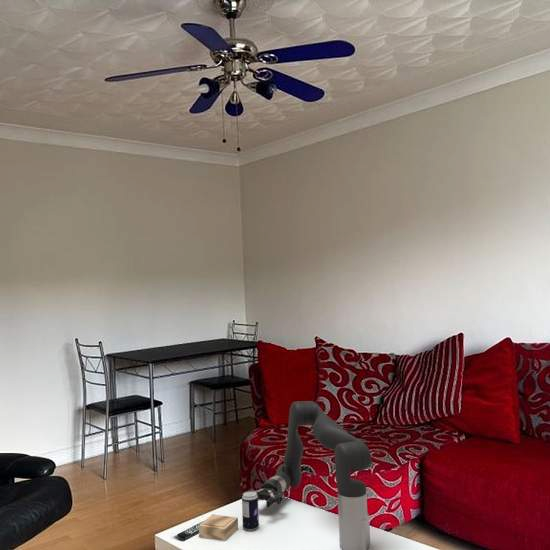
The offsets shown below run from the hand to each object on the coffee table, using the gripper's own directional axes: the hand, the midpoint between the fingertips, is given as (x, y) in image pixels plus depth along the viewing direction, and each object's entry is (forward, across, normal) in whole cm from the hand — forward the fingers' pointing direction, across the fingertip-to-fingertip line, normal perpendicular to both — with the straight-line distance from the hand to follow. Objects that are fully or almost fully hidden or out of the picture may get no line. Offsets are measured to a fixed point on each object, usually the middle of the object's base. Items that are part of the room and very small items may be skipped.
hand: (256, 503), depth 206 cm
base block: (+12, -9, +7) cm, 17 cm away
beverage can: (+5, 0, +7) cm, 9 cm away
